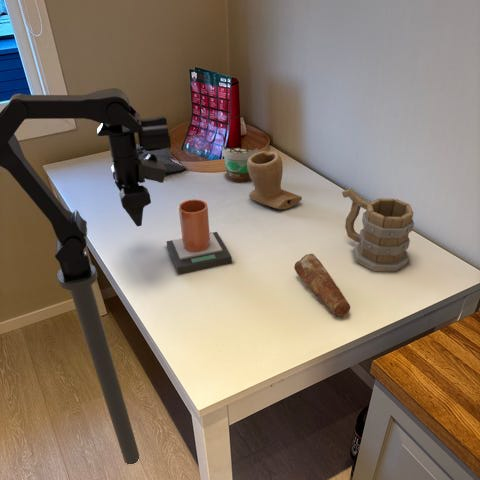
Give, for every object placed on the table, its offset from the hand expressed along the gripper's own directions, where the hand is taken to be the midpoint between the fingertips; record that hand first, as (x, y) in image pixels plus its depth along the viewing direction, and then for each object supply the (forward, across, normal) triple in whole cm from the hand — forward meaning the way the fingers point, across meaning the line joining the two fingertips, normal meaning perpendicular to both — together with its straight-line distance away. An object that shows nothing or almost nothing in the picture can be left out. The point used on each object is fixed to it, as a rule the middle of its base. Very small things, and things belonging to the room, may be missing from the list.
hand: (136, 216), depth 116 cm
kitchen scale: (+13, -2, -14) cm, 19 cm away
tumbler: (+10, -1, -14) cm, 17 cm away
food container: (+13, +37, -38) cm, 55 cm away
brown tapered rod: (+13, -28, -38) cm, 49 cm away
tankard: (+13, -16, -56) cm, 60 cm away
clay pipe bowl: (+13, +18, -42) cm, 48 cm away
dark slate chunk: (+13, +59, -15) cm, 62 cm away
